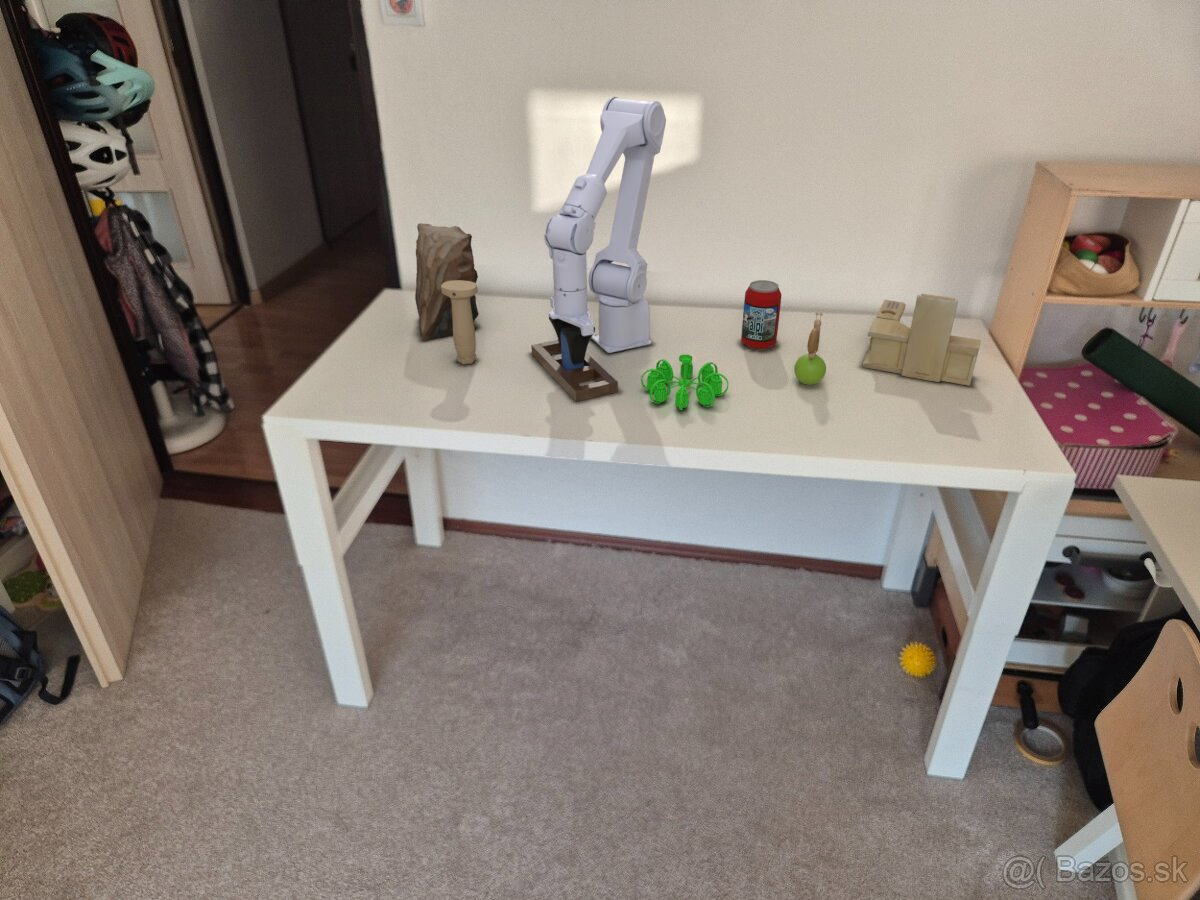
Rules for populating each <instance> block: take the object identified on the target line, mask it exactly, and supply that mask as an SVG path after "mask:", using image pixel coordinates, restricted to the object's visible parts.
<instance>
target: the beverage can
mask: <svg viewBox="0 0 1200 900" xmlns="http://www.w3.org/2000/svg"><path fill="white" fill-rule="evenodd" d="M779 287H780V286H779V284H778V283H776V282H774V281H772V280H765V279H762V280H760V279H759V280H753V281H751V282H750V283H749V286H748V287H747V289H746V290H745V292H744V302H743V311H742V322H741V323H742V324H741V325H742V326H741V338H740V339H741V342H742V344H744V345H745V346H747V347H748V348H749V349H752V350H758V351H759V350H767V349H769V348H771V347H774V346H775V344H777V340H778V332H779V324H780V313H781V306H782V305H781V303H782V292H781V289H780V288H779Z"/></svg>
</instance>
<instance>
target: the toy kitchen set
mask: <svg viewBox="0 0 1200 900" xmlns="http://www.w3.org/2000/svg"><path fill="white" fill-rule="evenodd" d="M958 305H959V301H958V300H956V298H955V297H950V296H942V295H936V294H935V295H933V294H929V293H928V294H927V293H921V294H918V295H916V300H915V304H914V309H913V314H912V320H911V324H910V327H908V326H907V325H905V324H904V323H902V322H901V319H902V317H903V314H904V311H905V309H906V303H905V302H903V301H898V300H897V301H896V300H890V299H884V300H883V302H882V304H881V305H880V308H879V309H878V312H877V314H876V316H875V317H874V318H873V321H872V322H871V325H870V326H869V329H868V332H867V337H869V338H870V341H869V342H870V343H869V349H868V351H867V353H866V355H865V357H864V360H863V362H862V368H864V369H871V370H877V371H883V372H889V373H894V374H900V375H901V376H902V377H907V378H912V379H919V380H923V381H924V380H925V381H931V382H935V383H940V382H947V383H952V384H958V385H963V386H971V383H972V379H973V375H974V370H975V366H976V363H977V359H978V356H979V351H980V347H981V343H982V340H981V339H977V338H971V337H965V336H958V335H952V331H953V327H954V326H953V325H954V321H955V316H956V313H957V308H958Z"/></svg>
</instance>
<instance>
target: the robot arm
mask: <svg viewBox="0 0 1200 900" xmlns="http://www.w3.org/2000/svg"><path fill="white" fill-rule="evenodd" d="M599 120H600V124H599V125H600V129H601V134H600V137H599V139H598V142H597V144H596V146H595V149H594V152H593V155H592V156H591V157H592V158H591V160H590V162H589V165H588V167H587V170H586V173H585V174H583V175H580V176H578V177H576V178H575V181H574V182H573V184H572V187H571V189H570V191H569V193H568V195H567V197H566V199H565V201H564V203H563V205H562V208H560V211H559V213H558V214H557V213H556V214H555V215H554V216H552V217H550V219H548V221H547V223H546V225H545V231H544V234H543V240H544V243H545V245H546V247H547V248H548V256H549V257H550V259H551V260H552V274H553V275H552V276H553V277H552V279H553V296H550V297H549V300H550V301H549V302H550V303H549V304H550V308H551V309H552V310H550V311H549V312H548V320H549V322H550V323H551V326H552V328H553V329H554V332H555V334H556V337H557V340H558V341H559V345H560V349H561V331H562V332H563V333H564V335H565V337H566V340H567V343H568V347H569V353H570V359H571V362H572V363H573V364H578V363H582V362H584V358H585V354H586V353H587V349H588V346H589V343H590V341H591V339H592V341H593V342H594V343H596V344H597V345H598V346H599V347H600V348H601V349H602V350H604V351H605V352H606V353H607V354H611V353H617V352H620V351H625V350H629V349H634V348H640V347H644V346H649V345H651V344H652V341H651V340H650V331H651V328H650V327H651V310H650V309H651V308H650V304H649V302H648V300H647V298H646V297H645V296H644V294H645V292H646V290H647V284H648V278H647V273H648V272H647V271H648V263H647V261H646V260H645V258H644V257H643V256H642V255H641V254H640V253H639V251H638V250H637V249H638V244H639V240H640V239H639V238H640V234H641V229H642V228H641V227H642V222H643V217H644V213H645V208H646V204H647V203H646V202H647V197H648V192H649V187H650V183H651V182H650V181H651V177H652V171H653V166H654V161H655V158H656V157H655V156H656V155H658V154H659V153H661V149H662V144H663V141H664V135H665V131H666V130H665V129H666V124H667V117H666V114H665V110H664V107H663V105H662V103H661V102H660V101H658V100H652V101H651V100H642V99H631V98H621V97H618V96H611V97H609V98H608V99H607V100H606V102H605V104H604V105H603V107H602V111H601V114H600V119H599ZM622 155H623V156H624V163H623V169H622V174H621V179H620V185H619V191H618V195H617V202H616V205H615V206H616V207H615V211H614V216H613V222H612V228H611V233H610V238H609V242H608V245H607V246H606V247H604V248H603V249H601V250H599V251H598V252H597V253H596V254H595V257H594V262H593V265H592V267H591V268H590V271H589V274H588V269H587V268H588V266H587V265H588V264H587V252H588V250H589V249H590V248H591V246H592V244H593V242H594V241H593V240H594V234H595V228H596V222H595V220H596V218H597V215H598V213H599V212H600V209H601V207H602V205H603V203H604V201H605V199H606V197H607V194H608V191H607V187H606V185H605V184H606V182H607V180H608V179H609V177H610V175H611V174H612V172H613V170H614V169H615V167H616V165H617V164H618V162H619V160H620V158H621V157H622ZM614 262H616V263H621V264H616V263H614ZM622 264H625V265H622ZM626 265H627V266H626ZM588 286H589V289H590V291H591V293H593V294H594V298H595V300H597V301H598V333H597V334H595V333H596V327H595V326H594V325H595V324H594V323H593V322H592V319H591V315H590V310H589V307H588Z"/></svg>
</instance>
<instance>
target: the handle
mask: <svg viewBox="0 0 1200 900" xmlns="http://www.w3.org/2000/svg"><path fill="white" fill-rule="evenodd" d="M441 290H442V293H443V294H444V295H446V296H448V297H450V298H451V303H452V318H453V344H454V349H455V352H456V357H457V361H458V363H461V364H462V365H463V366H464V365H465V366H466V365H469V364H470V365H472V364H473V363H475V361H476V358H477V355H476V349H477V347H476V346H477V345H476V344H477V339H476V330H475V329H474V324H475V323H474V324H473V318H472V311H471V304H470V297H472V296H474V295H475V296H476V294H477V293H478V291H479V290H478V284H477V282H476V283H474V282H470V281H463V280H454V281H447V282H445V283H443V284H442V285H441Z"/></svg>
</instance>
